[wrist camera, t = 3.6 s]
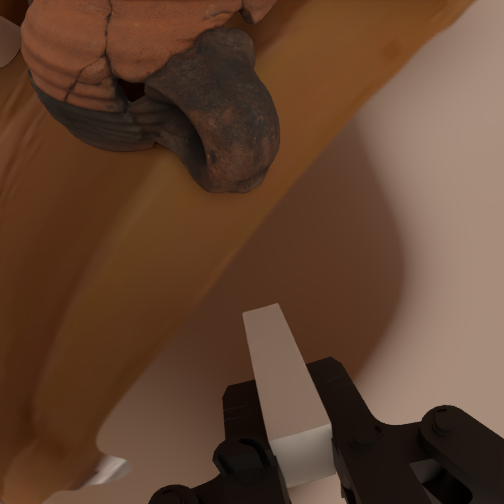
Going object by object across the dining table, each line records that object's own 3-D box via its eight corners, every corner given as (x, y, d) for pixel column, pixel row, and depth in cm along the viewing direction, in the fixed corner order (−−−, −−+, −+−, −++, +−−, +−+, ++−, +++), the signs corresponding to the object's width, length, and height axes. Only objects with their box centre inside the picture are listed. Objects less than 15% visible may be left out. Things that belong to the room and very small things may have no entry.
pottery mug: (23, 75, 10) (-5, -61, 2) (179, 13, 14) (220, -103, 6) (138, 284, 10) (128, 208, 3) (313, 164, 14) (443, 60, 7)
